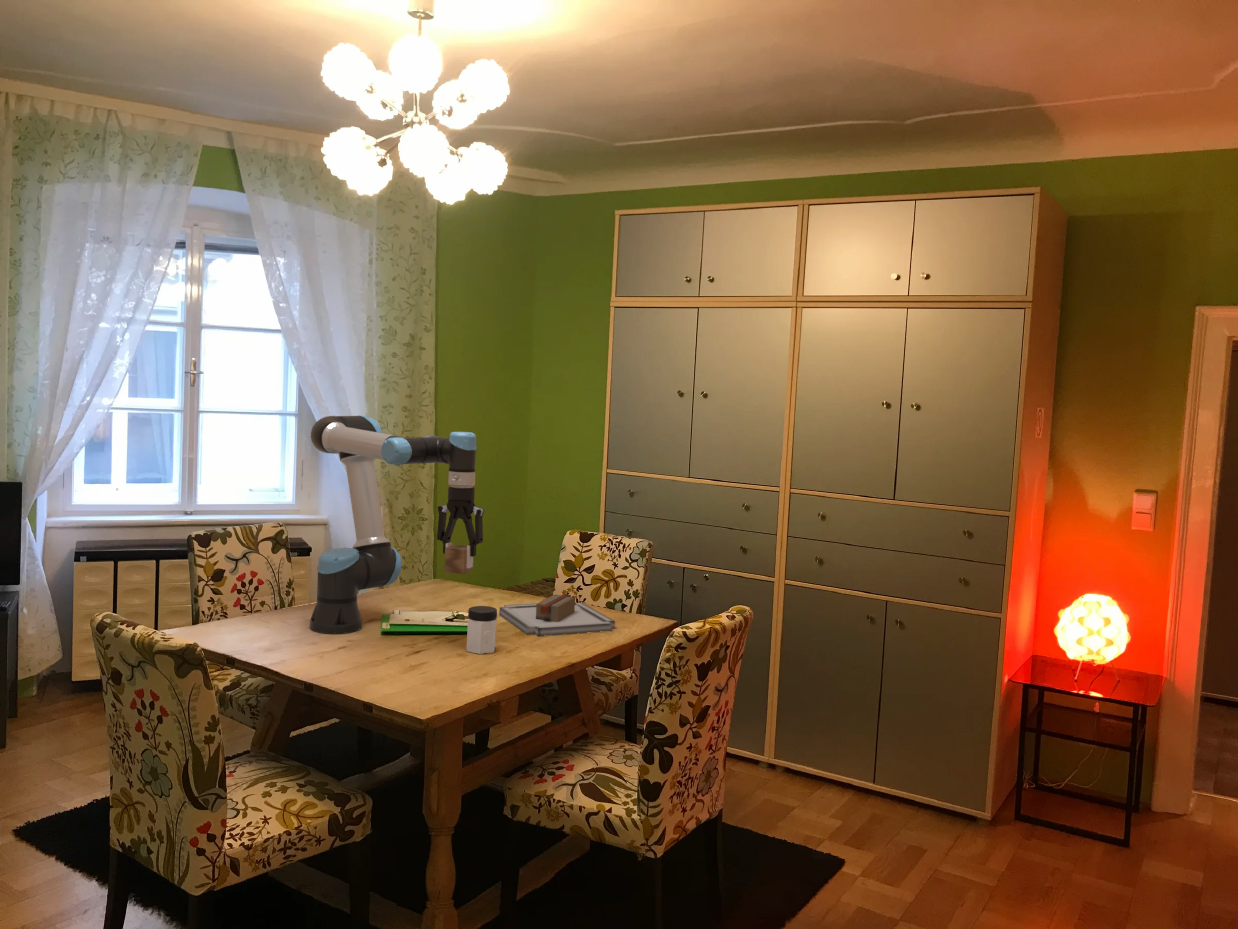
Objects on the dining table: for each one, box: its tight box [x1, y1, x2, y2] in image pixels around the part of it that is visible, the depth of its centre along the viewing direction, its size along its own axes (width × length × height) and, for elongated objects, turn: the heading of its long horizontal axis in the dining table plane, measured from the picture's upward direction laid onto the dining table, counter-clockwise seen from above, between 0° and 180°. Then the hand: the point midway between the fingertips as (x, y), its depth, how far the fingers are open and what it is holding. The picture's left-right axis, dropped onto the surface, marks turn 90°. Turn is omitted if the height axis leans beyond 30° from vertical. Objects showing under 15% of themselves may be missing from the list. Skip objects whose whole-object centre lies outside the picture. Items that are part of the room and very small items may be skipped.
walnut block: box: [443, 544, 474, 575], centre depth 282 cm, size 6×6×7 cm
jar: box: [466, 605, 498, 655], centre depth 282 cm, size 9×8×12 cm
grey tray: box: [498, 593, 616, 637], centre depth 319 cm, size 30×30×8 cm
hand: (458, 566), depth 282 cm, fingers closed on walnut block, 6 cm apart
